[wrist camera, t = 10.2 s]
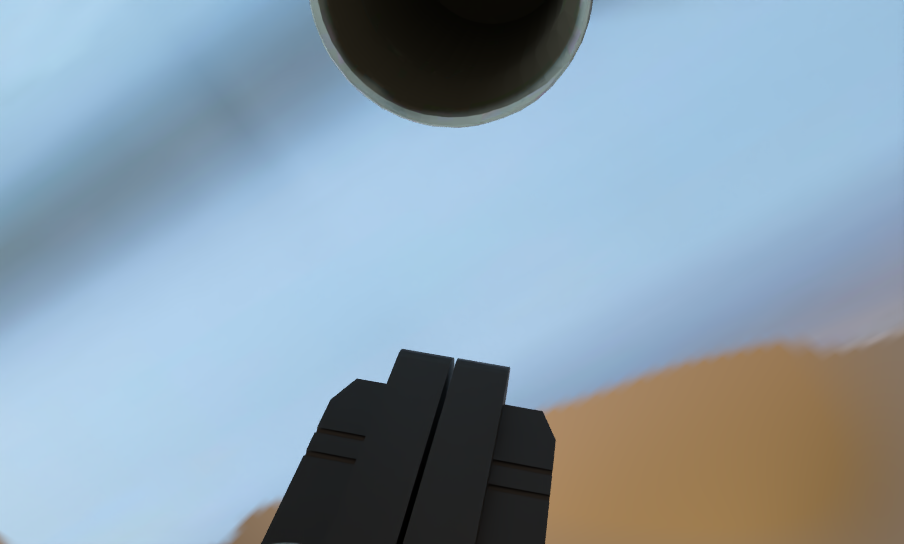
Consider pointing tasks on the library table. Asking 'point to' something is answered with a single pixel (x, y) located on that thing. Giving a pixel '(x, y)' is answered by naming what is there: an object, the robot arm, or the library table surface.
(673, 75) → the library table surface
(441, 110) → the grey green cup
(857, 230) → the library table surface
